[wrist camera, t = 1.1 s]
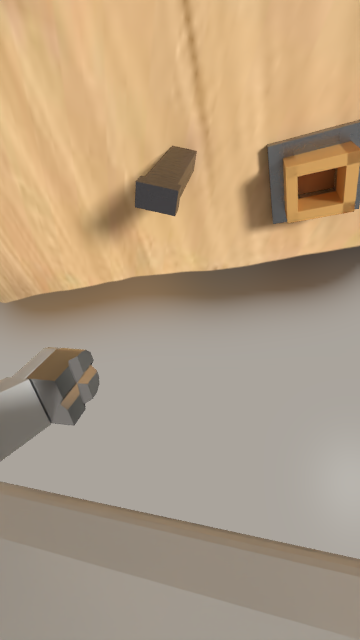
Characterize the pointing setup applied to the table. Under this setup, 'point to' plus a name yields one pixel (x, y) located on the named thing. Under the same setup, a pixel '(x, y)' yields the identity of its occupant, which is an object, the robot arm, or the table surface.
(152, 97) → the table surface
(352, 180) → the frame on grey plate
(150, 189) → the tall dark grey post
